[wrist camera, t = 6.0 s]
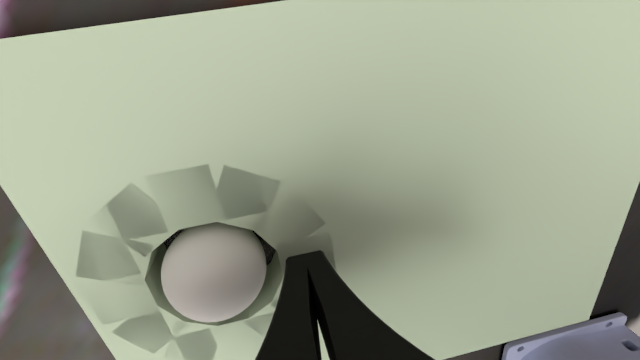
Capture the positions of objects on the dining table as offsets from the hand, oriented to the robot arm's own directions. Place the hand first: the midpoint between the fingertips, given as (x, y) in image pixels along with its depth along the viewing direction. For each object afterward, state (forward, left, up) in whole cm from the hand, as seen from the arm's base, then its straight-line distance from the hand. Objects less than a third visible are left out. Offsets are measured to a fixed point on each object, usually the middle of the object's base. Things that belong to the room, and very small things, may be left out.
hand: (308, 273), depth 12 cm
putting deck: (-4, 0, -3) cm, 5 cm away
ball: (+4, 0, -1) cm, 4 cm away
